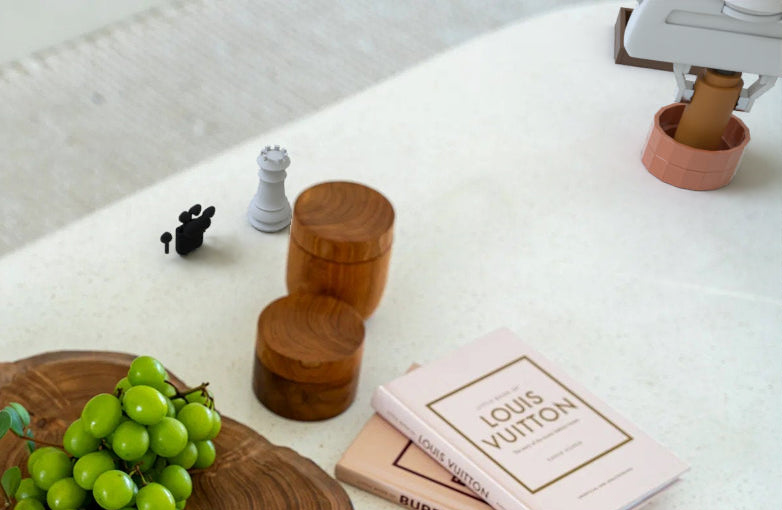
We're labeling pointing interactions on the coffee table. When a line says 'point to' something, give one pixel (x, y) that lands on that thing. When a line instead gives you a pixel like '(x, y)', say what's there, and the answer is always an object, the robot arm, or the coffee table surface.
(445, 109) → the coffee table surface
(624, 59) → the tray
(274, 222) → the rook chess piece
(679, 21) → the robot arm
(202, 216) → the wireless earbuds
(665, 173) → the bowl
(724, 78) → the bottle
